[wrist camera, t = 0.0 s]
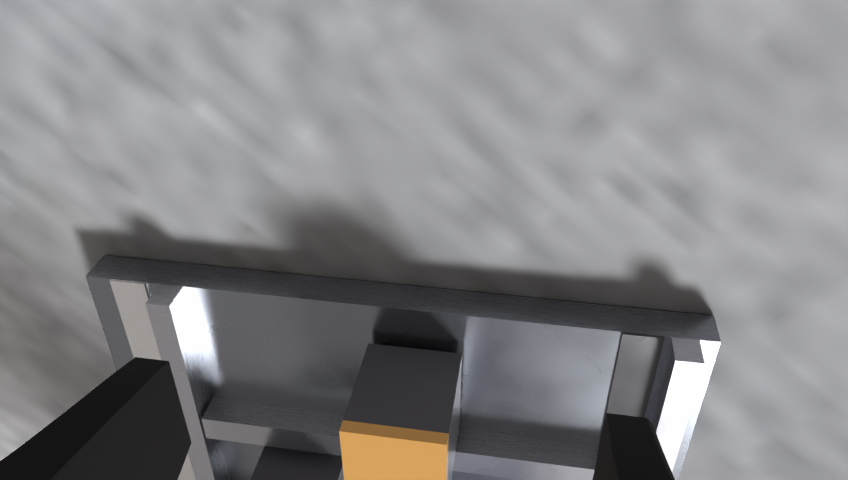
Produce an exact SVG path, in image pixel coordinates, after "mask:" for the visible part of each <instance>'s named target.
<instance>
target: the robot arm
mask: <svg viewBox="0 0 848 480" xmlns="http://www.w3.org/2000/svg"><path fill="white" fill-rule="evenodd" d="M191 443H192V442H191V439H190V435H189V432H188V428H187V424H186V421H185V417H184V414H183V410H182V406H181V403H180V399H179V396H178V392H177V388H176V385H175V381H174V377H173V374H172V370H171V367H170V363H169V361H164V360H156V359H147V358H139V357H135V358H133V359H132V360H131V361H129V362H128V363H127V364H125V365H124V366H123V367H122V368H120V369H119V370H118V371H116V372H115V373H114V374H113V375H111V376H110V377H109V378H107V379H106V380H105V381H104V382H102V383H101V384H100V385H99V386H97V387H96V388H95V389H94V390H92V391H91V392H90V393H89V394H87V395H86V396H85V397H84V398H82V399H81V400H80V401H79V402H77V403H76V404H75V405H73V406H72V407H71V408H70V409H68V410H67V411H66V412H65V413H63V414H62V415H61V416H59V417H58V418H57V419H56V420H54V421H53V422H52V423H50V424H49V425H48V426H47V427H45V428H44V429H43V430H41V431H40V432H39V433H37V434H36V435H35V436H34V437H32V438H31V439H30V440H28V441H27V442H26V443H25V444H23V445H22V446H21V447H19V448H18V449H17V450H15V451H14V452H12V453H11V454H10V455H8V456H7V457H5V458H4V459H3V460H1V461H0V480H178V477H179V475H180V472H181V470H182V467H183V464H184V462H185V459H186V456H187V454H188V451H189V448H190V445H191ZM593 480H675V478H674V476H673V474H672V471H671V469H670V467H669V464H668V462H667V460H666V457H665V455H664V452H663V450H662V447H661V445H660V442H659V440H658V437H657V434H656V432H655V429H654V426H653V424H652V423H651V422H650V420H649V419H648V418H645V417H636V416H628V415H619V414H611V413H606V417H605V422H604V427H603V432H602V437H601V441H600V446H599V451H598V456H597V461H596V466H595V470H594V475H593Z"/></svg>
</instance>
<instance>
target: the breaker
mask: <svg viewBox="0 0 848 480" xmlns="http://www.w3.org/2000/svg"><path fill="white" fill-rule="evenodd" d="M250 480H344V475H343V465H342V456H338V455H330V454H323V453H315V452H308V451H300V450H293V449H285V448H277V447H270V446H264V449H263V451H262V453H261V456H260V458H259V460H258V463H257V465H256V467H255V469H254V472H253V474H252V476H251V479H250Z"/></svg>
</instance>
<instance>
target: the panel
mask: <svg viewBox="0 0 848 480" xmlns="http://www.w3.org/2000/svg"><path fill="white" fill-rule="evenodd" d="M86 279H87V282H88V285H89V288H90V291H91V294H92V297H93V300H94V303H95V306H96V308H97V311H98V314H99V317H100V320H101V323H102V326H103V329H104V332H105V335H106V338H107V341H108V344H109V347H110V350H111V353H112V356H113V359H114V362H115V365H116V368H117V371H118V370H119V369H120V368H122V367H123V366H124V365H125V364H127V363H128V362H129V361H131V360H132V359H133V358H135V357H139V358H147V359H156V360H164V361H169V363H170V367H171V370H172V374H173V377H174V381H175V385H176V388H177V392H178V396H179V399H180V403H181V406H182V410H183V414H184V417H185V421H186V424H187V428H188V432H189V435H190V439H191V442H192V443H191V445H190V448H189V451H188V454H187V456H186V459H185V462H184V464H183V467H182V470H181V472H180V475H179V477H178V480H250V479H251V476H252V474H253V472H254V469H255V467H256V465H257V463H258V460H259V458H260V456H261V453H262V451H263V449H264V446H270V447H277V448H285V449H293V450H300V451H308V452H315V453H323V454H330V455H338V456H342V455H341V445H340V435H339V430H340V427H341V424H342V421H343V418H344V415H345V412H346V409H347V406H348V403H349V400H350V397H351V394H352V391H353V388H354V385H355V382H356V379H357V376H358V373H359V370H360V367H361V364H362V361H363V358H364V355H365V352H366V349H367V345H368V343H370V344H379V345H388V346H397V347H406V348H415V349H424V350H433V351H442V352H451V353H460V354H462V372H461V397H460V422H459V433H458V439H457V446H456V452H455V459H454V465H453V472H452V478H451V480H593V475H594V470H595V466H596V461H597V456H598V451H599V446H600V441H601V437H602V432H603V427H604V422H605V417H606V413H611V414H619V415H628V416H636V417H645V418H648V419H649V420H650V422H651V423H652V424H653V426H654V429H655V432H656V434H657V437H658V440H659V442H660V445H661V447H662V450H663V452H664V455H665V457H666V460H667V462H668V464H669V467H670V469H671V471H672V474H673V476H674V478H675V480H678V478H679V474H680V471H681V468H682V465H683V462H684V458H685V455H686V452H687V449H688V446H689V442H690V439H691V436H692V433H693V430H694V427H695V423H696V420H697V417H698V414H699V411H700V407H701V404H702V401H703V398H704V395H705V391H706V388H707V385H708V382H709V379H710V375H711V372H712V369H713V366H714V363H715V359H716V356H717V353H718V350H719V347H720V344H721V341H720V337H719V333H718V329H717V326H716V322H715V318H714V316H712V315H702V314H692V313H682V312H672V311H662V310H652V309H642V308H632V307H622V306H612V305H601V304H591V303H581V302H571V301H561V300H551V299H541V298H531V297H521V296H511V295H501V294H490V293H480V292H470V291H460V290H450V289H440V288H430V287H420V286H410V285H400V284H389V283H379V282H369V281H359V280H349V279H339V278H329V277H319V276H309V275H299V274H289V273H278V272H268V271H258V270H248V269H238V268H228V267H218V266H208V265H198V264H188V263H177V262H167V261H157V260H147V259H137V258H127V257H117V256H107V255H105V256H104V257H103V258H102V259H101V260H100V261H99V262H98V263H97V264H96V266H95V267H94V268H93V269H92V270H91V271H90V272H89V273H88V274H87V275H86Z"/></svg>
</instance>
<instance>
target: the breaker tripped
mask: <svg viewBox="0 0 848 480" xmlns="http://www.w3.org/2000/svg"><path fill="white" fill-rule="evenodd" d="M461 372H462V354H460V353H451V352H442V351H433V350H424V349H415V348H406V347H397V346H388V345H379V344H370V343H368V345H367V349H366V352H365V355H364V358H363V361H362V364H361V367H360V370H359V373H358V376H357V379H356V382H355V385H354V388H353V391H352V394H351V397H350V400H349V403H348V406H347V409H346V412H345V415H344V418H343V421H342V424H341V427H340V430H339V435H340V445H341V455H342V465H343V475H344V480H451V478H452V472H453V465H454V459H455V452H456V446H457V439H458V433H459V422H460V397H461Z"/></svg>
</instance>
